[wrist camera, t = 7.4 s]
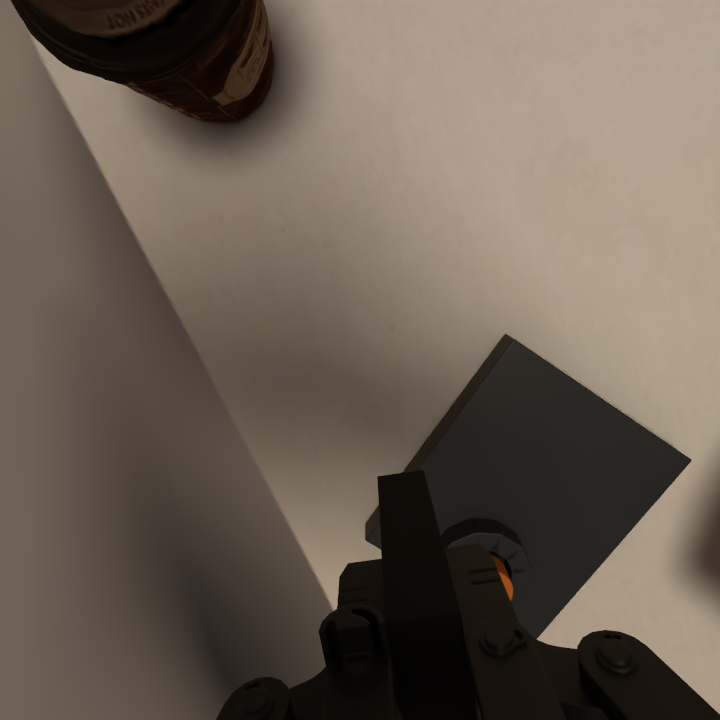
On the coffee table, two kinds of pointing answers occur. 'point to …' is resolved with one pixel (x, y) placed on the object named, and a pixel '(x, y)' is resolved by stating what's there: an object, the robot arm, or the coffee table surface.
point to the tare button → (504, 576)
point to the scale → (539, 477)
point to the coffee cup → (165, 49)
